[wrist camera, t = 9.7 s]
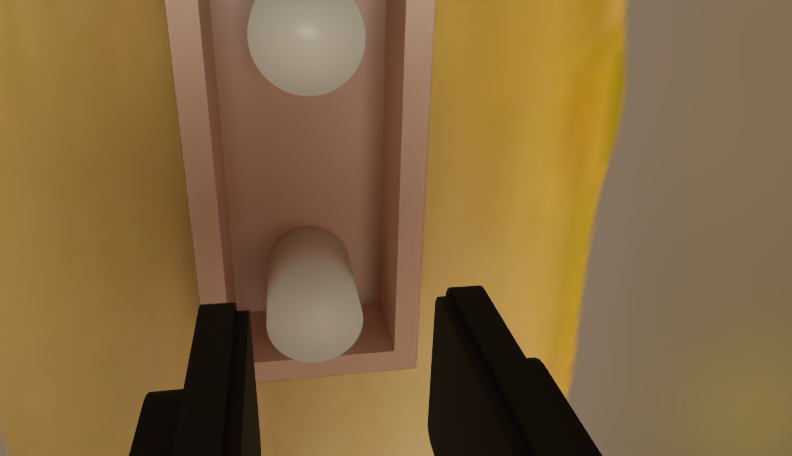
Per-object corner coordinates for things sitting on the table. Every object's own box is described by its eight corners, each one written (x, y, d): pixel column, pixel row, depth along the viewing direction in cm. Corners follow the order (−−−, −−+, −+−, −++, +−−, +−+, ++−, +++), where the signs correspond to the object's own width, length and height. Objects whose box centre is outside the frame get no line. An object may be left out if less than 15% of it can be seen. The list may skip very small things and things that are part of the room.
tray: (395, 307, 26) (421, 382, 21) (218, 320, 25) (207, 402, 20) (408, -73, 20) (446, -75, 16) (176, -81, 19) (149, -85, 14)
